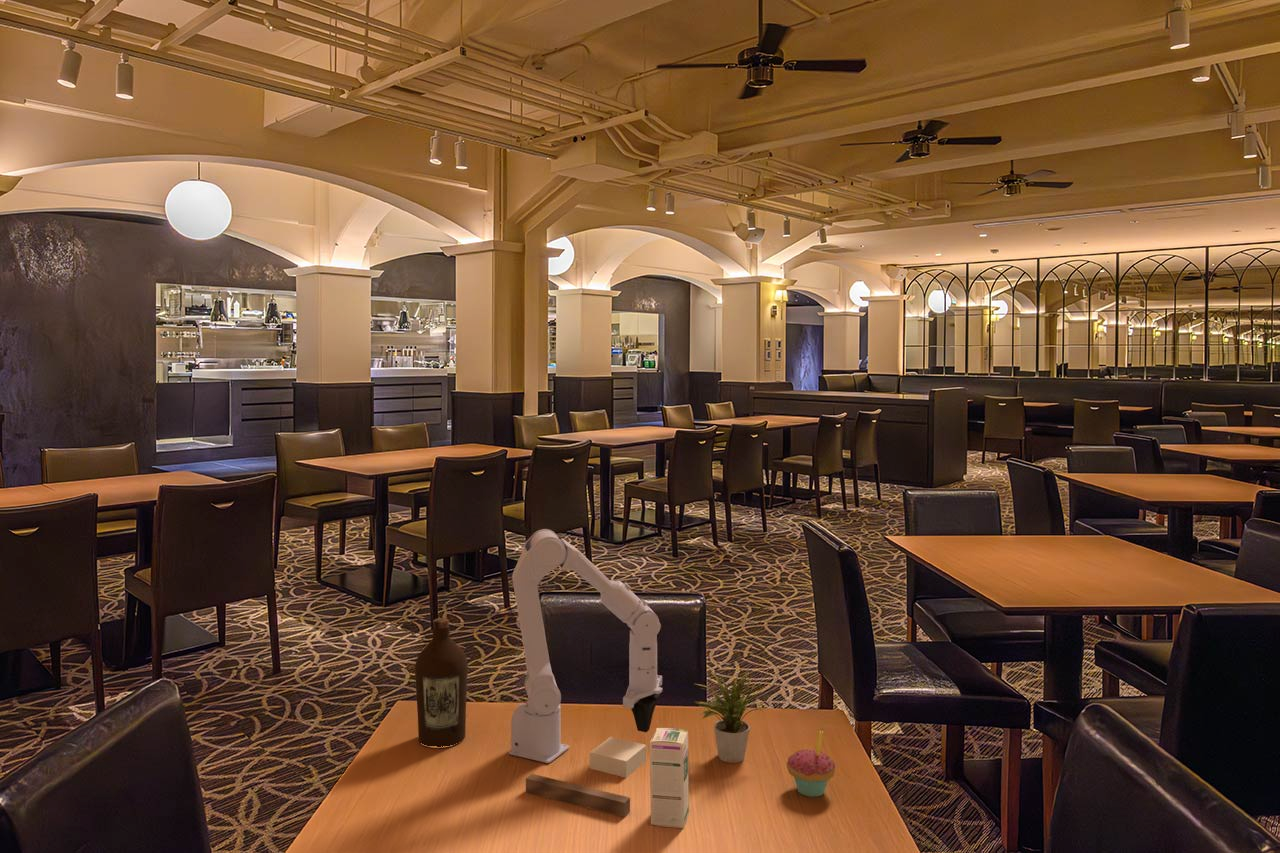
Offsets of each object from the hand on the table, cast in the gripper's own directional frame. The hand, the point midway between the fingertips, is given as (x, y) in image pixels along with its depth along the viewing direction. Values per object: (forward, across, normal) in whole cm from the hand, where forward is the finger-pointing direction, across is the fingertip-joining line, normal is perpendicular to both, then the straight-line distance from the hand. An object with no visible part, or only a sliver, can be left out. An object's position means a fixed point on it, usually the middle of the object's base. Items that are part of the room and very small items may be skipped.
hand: (643, 730), depth 170 cm
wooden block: (+3, -11, 0) cm, 11 cm away
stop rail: (+2, -27, 0) cm, 27 cm away
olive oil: (+2, -17, +38) cm, 42 cm away
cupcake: (+3, -5, -36) cm, 36 cm away
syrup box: (+3, -25, -17) cm, 30 cm away
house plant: (+3, +3, -18) cm, 18 cm away
